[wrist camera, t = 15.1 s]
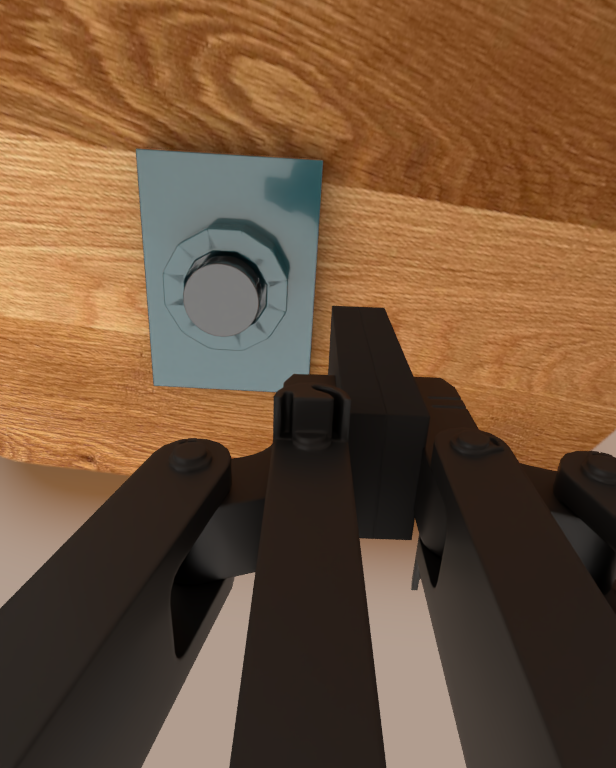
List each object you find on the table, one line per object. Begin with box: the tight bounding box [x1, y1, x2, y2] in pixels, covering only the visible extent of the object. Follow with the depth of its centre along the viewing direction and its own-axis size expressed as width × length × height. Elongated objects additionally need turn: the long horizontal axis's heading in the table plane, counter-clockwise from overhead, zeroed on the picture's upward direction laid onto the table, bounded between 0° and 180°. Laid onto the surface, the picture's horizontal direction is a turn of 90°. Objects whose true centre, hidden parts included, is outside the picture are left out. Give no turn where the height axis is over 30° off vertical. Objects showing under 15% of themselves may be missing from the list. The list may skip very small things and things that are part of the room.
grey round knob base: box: [136, 148, 323, 392], centre depth 31 cm, size 14×10×4 cm
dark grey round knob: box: [183, 255, 262, 337], centre depth 29 cm, size 4×4×2 cm
